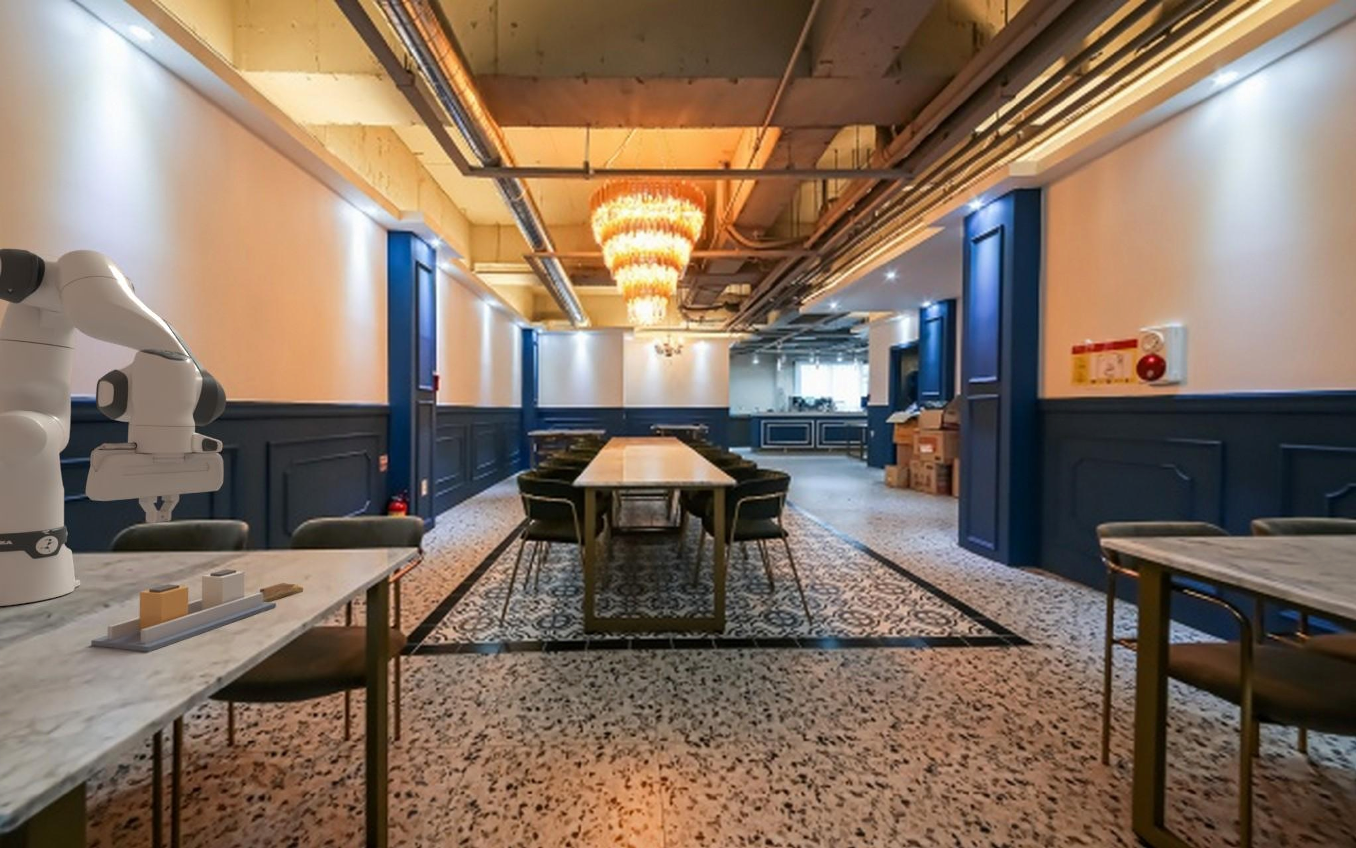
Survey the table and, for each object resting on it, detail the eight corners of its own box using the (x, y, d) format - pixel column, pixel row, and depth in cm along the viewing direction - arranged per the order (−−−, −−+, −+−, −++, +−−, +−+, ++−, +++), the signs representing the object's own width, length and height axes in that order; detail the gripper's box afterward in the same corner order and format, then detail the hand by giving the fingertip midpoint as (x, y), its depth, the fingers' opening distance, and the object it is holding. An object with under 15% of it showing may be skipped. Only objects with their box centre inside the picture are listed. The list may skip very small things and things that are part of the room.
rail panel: (91, 645, 100) (91, 596, 100) (226, 602, 123) (227, 562, 123) (148, 651, 98) (149, 601, 97) (275, 607, 121) (276, 566, 121)
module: (139, 632, 104) (139, 589, 104) (166, 623, 108) (166, 583, 108) (161, 634, 103) (161, 591, 103) (188, 626, 107) (188, 584, 107)
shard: (258, 607, 122) (258, 599, 122) (230, 604, 124) (230, 595, 124) (304, 593, 132) (304, 585, 132) (278, 590, 135) (278, 582, 135)
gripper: (107, 444, 94) (103, 532, 94) (231, 442, 114) (227, 515, 114) (77, 442, 95) (73, 529, 95) (204, 441, 115) (201, 513, 115)
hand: (158, 521), depth 105 cm, fingers closed
